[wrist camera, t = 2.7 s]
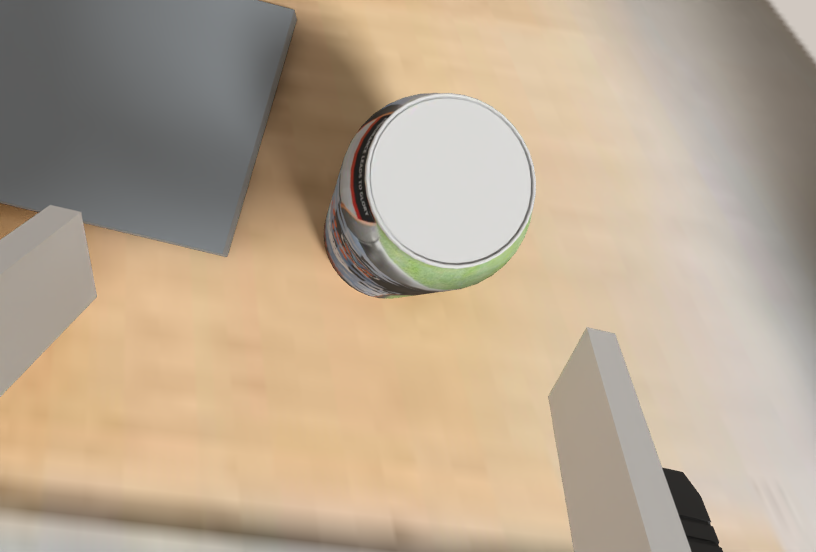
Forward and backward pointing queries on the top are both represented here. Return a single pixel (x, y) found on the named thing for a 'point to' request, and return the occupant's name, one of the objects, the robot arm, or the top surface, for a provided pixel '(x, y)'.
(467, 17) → the top surface
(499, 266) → the beverage can
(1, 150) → the rubber mat
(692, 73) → the top surface
